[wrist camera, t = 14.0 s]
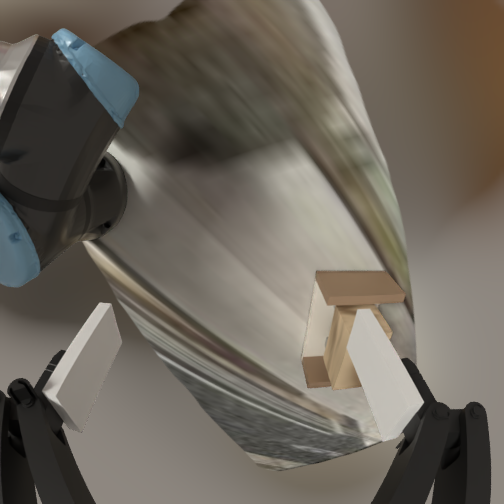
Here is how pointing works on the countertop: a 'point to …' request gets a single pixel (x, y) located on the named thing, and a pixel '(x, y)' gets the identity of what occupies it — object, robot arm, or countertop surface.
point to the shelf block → (336, 351)
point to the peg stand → (323, 305)
